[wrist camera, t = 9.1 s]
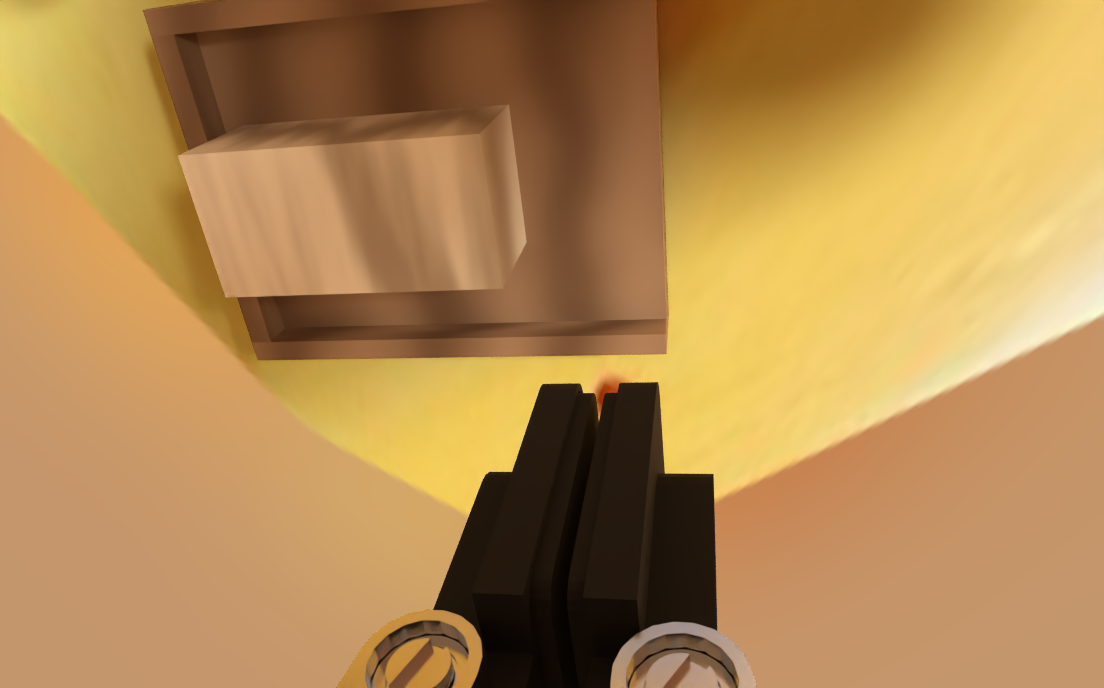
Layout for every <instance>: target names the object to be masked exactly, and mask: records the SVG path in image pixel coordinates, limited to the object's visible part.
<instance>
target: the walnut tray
mask: <svg viewBox="0 0 1104 688" xmlns="http://www.w3.org/2000/svg"><path fill="white" fill-rule="evenodd" d="M143 12H144V15H145V18H146V21H147V24H148V27H149V30H150V33H151V36H152V39H153V43H154V46H155V49H156V52H157V55H158V58H159V61H160V64H161V67H162V70H163V73H164V76H165V79H166V82H167V85H168V88H169V91H170V94H171V97H172V100H173V103H174V106H175V109H176V113H177V116H178V119H179V122H180V125H181V128H182V131H183V134H184V137H185V140H186V143H187V146H188V149H189V150H191V149H193V148H195V147H197V146H200V145H202V144H204V143H206V142H208V141H211V140H213V139H215V138H217V137H219V136H222V135H224V134H226V133H228V132H230V131H232V130H235V129H237V128H239V127H241V126H243V125H255V124H267V123H280V122H293V121H306V120H318V119H331V118H344V117H356V116H369V115H382V114H395V113H407V112H420V111H433V110H445V109H458V108H471V107H484V106H496V105H509V109H510V116H511V124H512V132H513V140H514V148H515V155H516V163H517V171H518V179H519V187H520V194H521V202H522V210H523V218H524V226H525V233H526V241H527V242H526V244H525V246H524V248H523V250H522V252H521V254H520V256H519V258H518V260H517V262H516V264H515V266H514V268H513V270H512V272H511V274H510V276H509V278H508V280H507V282H506V284H505V285H504V287H503V289H479V290H447V291H416V292H385V293H354V294H323V295H291V296H260V297H237V298H238V301H239V304H240V307H241V310H242V313H243V316H244V319H245V322H246V325H247V329H248V332H249V335H250V338H251V341H252V344H253V347H254V350H255V353H256V356H257V359H258V360H304V359H371V358H439V357H507V356H574V355H642V354H666V351H667V334H668V316H669V312H668V285H667V259H666V232H665V205H664V179H663V152H662V125H661V99H660V72H659V45H658V19H657V0H203V1H196V2H189V3H183V4H177V5H171V6H165V7H159V8H153V9H146V10H143Z"/></svg>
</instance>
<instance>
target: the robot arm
mask: <svg viewBox="0 0 1104 688" xmlns="http://www.w3.org/2000/svg"><path fill="white" fill-rule="evenodd" d="M714 518H715V517H714V479H713V474H665V471H664V456H663V440H662V425H661V409H660V394H659V385H658V382H651V383H620V384H619V388H618V393H605V396H604V400H603V405H602V410H601V415H600V420H599V419H598V410H597V402H596V396H595V394H594V393H583V390H582V387H581V385H580V384H543V385H542V386H541V388H540V390H539V393H538V396H537V399H536V402H535V405H534V408H533V411H532V414H531V417H530V420H529V423H528V426H527V429H526V432H525V435H524V438H523V441H522V444H521V447H520V450H519V453H518V456H517V459H516V462H515V465H514V468H513V471H512V472H489V473H488V474H486V475H485V477H484V479H483V481H482V483H481V486H480V489H479V491H478V494H477V496H476V499H475V502H474V504H473V507H472V510H471V512H470V515H469V517H468V520H467V523H466V525H465V528H464V531H463V533H462V536H461V539H460V541H459V544H458V546H457V549H456V552H455V554H454V557H453V559H452V562H451V565H450V567H449V570H448V572H447V575H446V578H445V580H444V583H443V586H442V588H441V591H440V593H439V596H438V599H437V601H436V604H435V607H434V609H433V610H423V611H419V612H414V613H409V614H406V615H404V616H402V617H399V618H397V619H395V620H393V621H391V622H389V623H387V624H386V625H385V626H384V627H382V628H381V629H380V630H378V631H377V632H375V633H374V634H373V635H372V636H371V637H370V639H369V640H368V641H367V642H366V643H365V645H364V646H363V647H362V648H361V649H360V651H359V652H358V654H357V656H356V657H355V659H354V660H353V662H352V664H351V665H350V667H349V668H348V670H347V671H346V673H345V675H344V676H343V678H342V679H341V681H340V682H339V684H338V686H337V687H336V688H757V686H756V683H755V678H754V674H753V672H752V670H751V667H750V665H749V663H748V660H747V658H746V656H745V655H744V654H743V652H742V651H741V650H740V649H739V648H738V647H737V646H736V645H735V643H733V641H732V640H730V639H729V638H727V637H726V636H724V635H722V634H721V633H719V632H718V631H717V601H716V600H717V599H716V562H715V561H716V556H715V519H714Z"/></svg>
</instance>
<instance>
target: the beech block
mask: <svg viewBox="0 0 1104 688" xmlns="http://www.w3.org/2000/svg"><path fill="white" fill-rule="evenodd" d="M178 158H179V161H180V164H181V167H182V170H183V173H184V176H185V179H186V182H187V185H188V188H189V191H190V194H191V197H192V200H193V203H194V206H195V209H196V212H197V215H198V218H199V221H200V224H201V226H202V229H203V232H204V235H205V238H206V241H207V244H208V247H209V250H210V253H211V256H212V259H213V262H214V265H215V268H216V271H217V274H218V277H219V280H220V283H221V286H222V289H223V292H224V295H225V298H229V297H260V296H291V295H323V294H354V293H385V292H416V291H447V290H479V289H503V287H504V285H505V284H506V282H507V280H508V278H509V276H510V274H511V272H512V270H513V268H514V266H515V264H516V262H517V260H518V258H519V256H520V254H521V252H522V250H523V248H524V246H525V244H526V242H527V241H526V233H525V226H524V218H523V210H522V202H521V194H520V187H519V179H518V171H517V163H516V155H515V148H514V140H513V132H512V124H511V116H510V109H509V105H496V106H484V107H471V108H458V109H445V110H433V111H420V112H407V113H395V114H382V115H369V116H356V117H344V118H331V119H318V120H306V121H293V122H280V123H267V124H255V125H243V126H241V127H239V128H237V129H235V130H232V131H230V132H228V133H226V134H224V135H222V136H219V137H217V138H215V139H213V140H211V141H208V142H206V143H204V144H202V145H200V146H197V147H195V148H193V149H191V150H189V151H187V152H184V153H182V154H180V155H178Z"/></svg>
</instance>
